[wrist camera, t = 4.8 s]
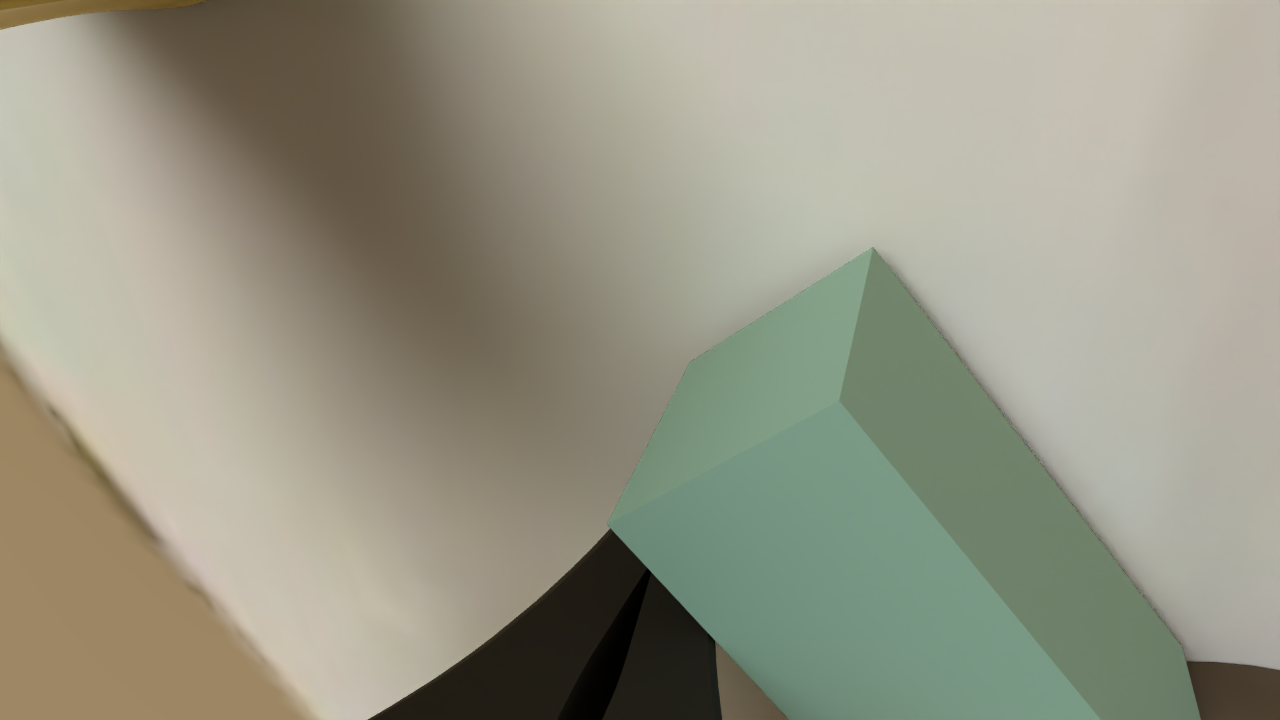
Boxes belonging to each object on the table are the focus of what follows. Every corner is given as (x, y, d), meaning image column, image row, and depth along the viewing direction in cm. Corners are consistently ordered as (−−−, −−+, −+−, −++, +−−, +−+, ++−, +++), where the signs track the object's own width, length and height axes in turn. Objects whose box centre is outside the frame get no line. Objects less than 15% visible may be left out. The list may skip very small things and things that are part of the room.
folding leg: (1182, 647, 12) (1246, 897, 10) (983, 704, 14) (987, 932, 11) (873, 247, 11) (838, 400, 8) (689, 362, 12) (607, 524, 10)
